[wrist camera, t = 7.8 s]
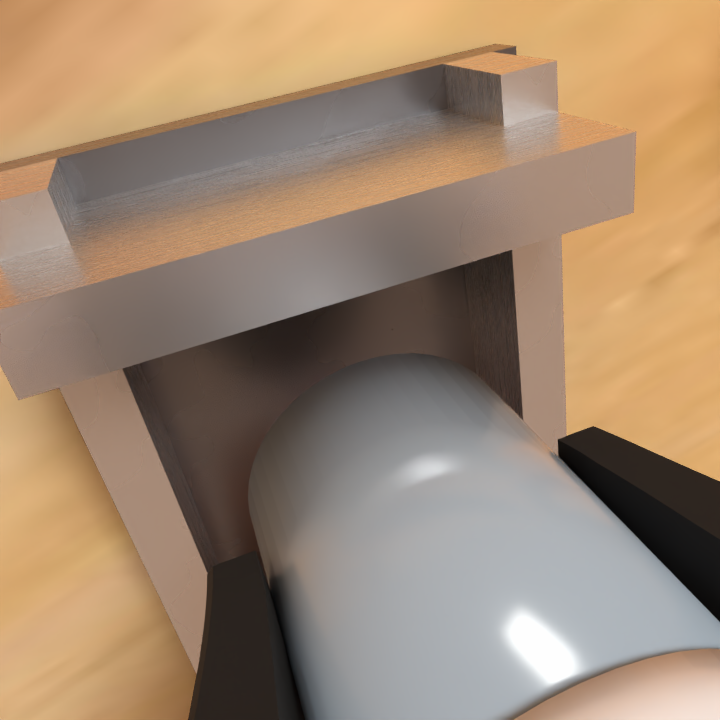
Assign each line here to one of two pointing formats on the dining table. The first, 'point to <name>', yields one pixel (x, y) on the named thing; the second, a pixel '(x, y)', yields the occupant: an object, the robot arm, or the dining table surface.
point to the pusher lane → (293, 276)
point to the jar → (461, 564)
